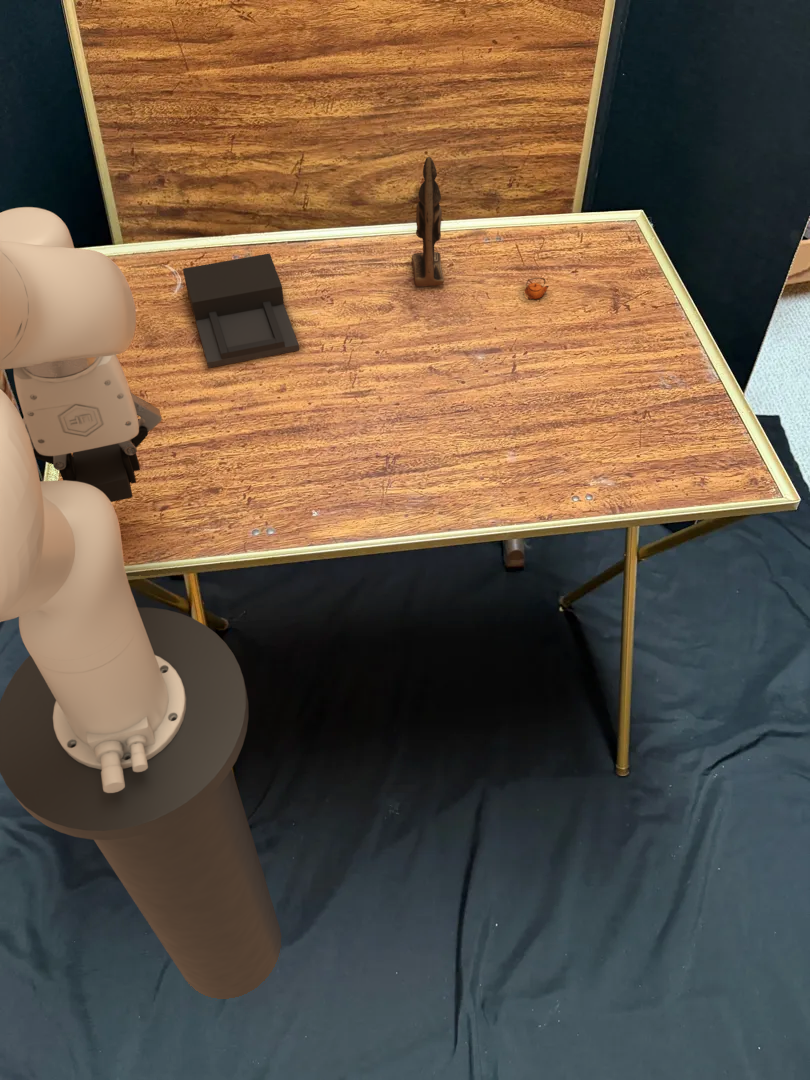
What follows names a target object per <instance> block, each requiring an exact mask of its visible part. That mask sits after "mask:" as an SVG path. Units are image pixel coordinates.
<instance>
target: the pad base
mask: <svg viewBox="0 0 810 1080" xmlns="http://www.w3.org/2000/svg"><path fill="white" fill-rule="evenodd" d="M182 271H183V278H184V282H185V287H186V292H187V295H188V296H187V297H188V299H189V304H190V307H191V310H192V313H193V318H194V322H195V325H196V329H197V332H198V336H199V340H200V342H201V347H202V350H203V353H204V357H205V361H206V364H207V367H208V369H211V368H215V367H216V368H217V367H221V366H226V365H227V366H228V365H232V364H236V363H241V362H246V361H247V362H248V361H251V360H257V359H263V358H267V357H272V356H277V355H282V354H287V353H293V352H298V351H300V344H299V342H298V339H297V336H296V332H295V330H294V328H293V324H292V322H291V319H290V317H289V315H288V311H287V309H286V306H285V300H284V292H283V285H282V282H281V279H280V277H279V274H278V272H277V269H276V266H275V264H274V260H273V258H272V255H271V253H264V254H258V255H253V256H247V257H242V258H241V257H240V258H235V259H230V260H224V261H218V262H213V263H212V262H211V263H208V264H201V265H195V266H189V267H184V268H182Z"/></svg>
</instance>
